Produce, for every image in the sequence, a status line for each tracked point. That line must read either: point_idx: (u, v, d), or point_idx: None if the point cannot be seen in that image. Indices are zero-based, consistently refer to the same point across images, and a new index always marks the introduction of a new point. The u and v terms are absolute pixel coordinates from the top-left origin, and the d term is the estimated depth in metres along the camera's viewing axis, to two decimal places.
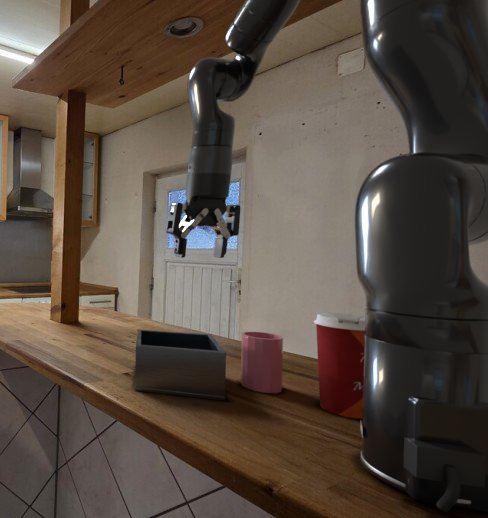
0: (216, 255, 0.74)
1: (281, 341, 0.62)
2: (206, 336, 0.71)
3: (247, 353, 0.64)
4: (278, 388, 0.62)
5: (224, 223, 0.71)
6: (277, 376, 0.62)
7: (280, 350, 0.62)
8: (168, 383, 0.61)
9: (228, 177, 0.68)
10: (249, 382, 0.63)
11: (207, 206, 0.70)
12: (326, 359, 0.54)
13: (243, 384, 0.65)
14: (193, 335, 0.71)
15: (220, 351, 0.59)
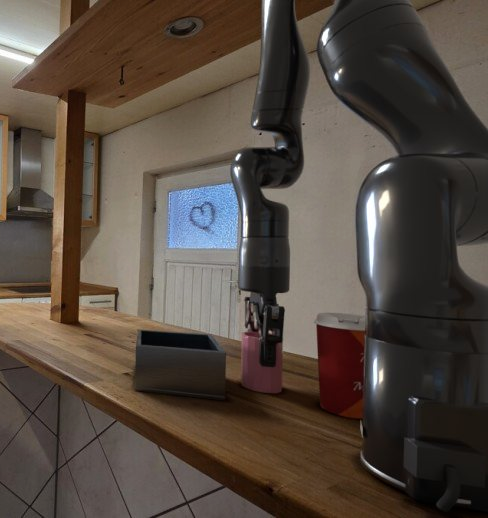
0: None
1: None
2: (206, 336, 0.71)
3: (247, 353, 0.64)
4: (278, 388, 0.62)
5: None
6: (277, 376, 0.62)
7: (280, 350, 0.62)
8: (168, 383, 0.61)
9: None
10: (249, 382, 0.63)
11: None
12: (326, 359, 0.54)
13: (243, 384, 0.65)
14: (193, 335, 0.71)
15: (220, 351, 0.59)
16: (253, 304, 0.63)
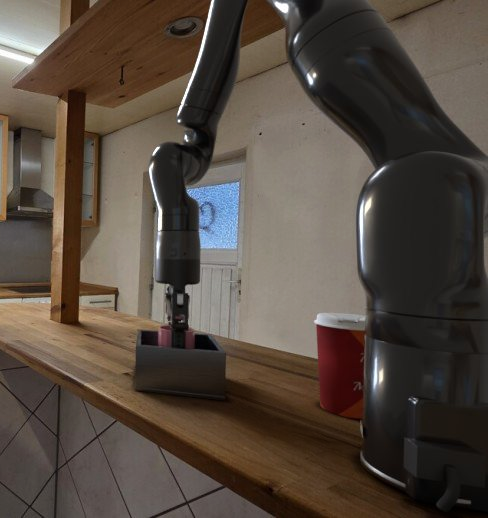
0: None
1: (191, 334, 0.64)
2: (206, 336, 0.71)
3: (161, 345, 0.66)
4: None
5: None
6: None
7: (190, 342, 0.64)
8: (168, 383, 0.61)
9: None
10: None
11: None
12: (326, 359, 0.54)
13: None
14: None
15: (220, 351, 0.59)
16: (166, 295, 0.65)
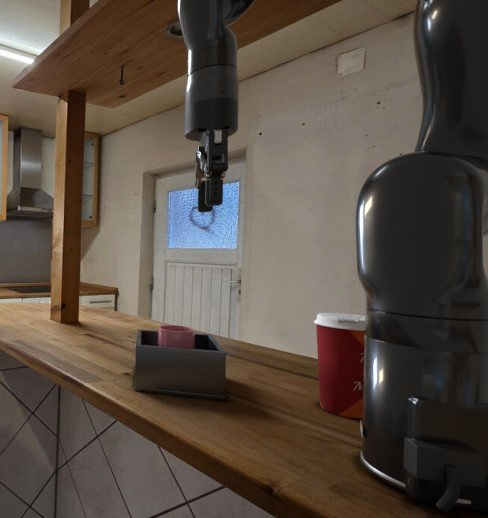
0: (203, 209, 0.62)
1: (191, 334, 0.64)
2: (206, 336, 0.71)
3: (161, 345, 0.66)
4: None
5: None
6: None
7: (190, 342, 0.64)
8: (168, 383, 0.61)
9: None
10: None
11: None
12: (326, 359, 0.54)
13: None
14: None
15: (220, 351, 0.59)
16: (199, 147, 0.57)
